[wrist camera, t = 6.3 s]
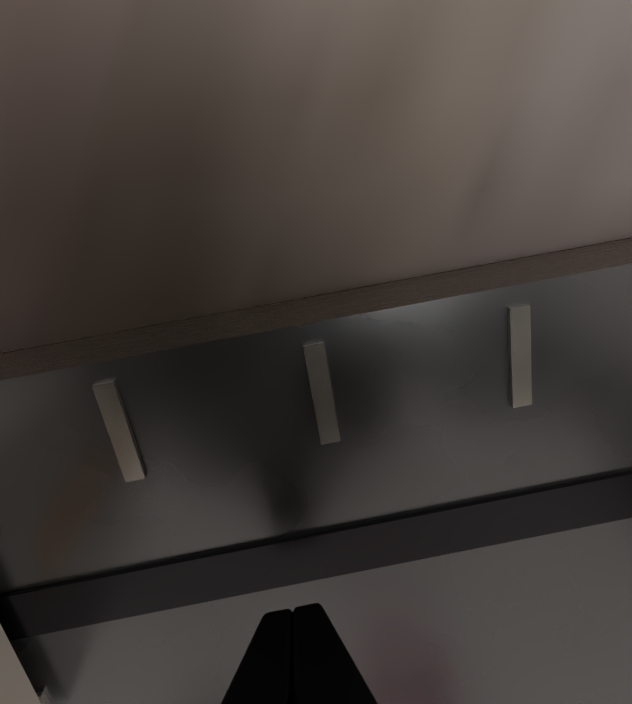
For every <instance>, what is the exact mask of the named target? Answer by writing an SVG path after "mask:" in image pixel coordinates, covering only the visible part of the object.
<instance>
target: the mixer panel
mask: <svg viewBox="0 0 632 704" xmlns="http://www.w3.org/2000/svg"><path fill="white" fill-rule="evenodd" d="M313 603H319V604H321V605H322V606H323V608H324V610H325V612H326V613H327V615H328V617H329V619H330V620H331V622H332V624H333V626H334V627H335V629H336V631H337V633H338V634H339V636H340V638H341V640H342V641H343V643H344V645H345V647H346V648H347V650H348V652H349V654H350V655H351V657H352V659H353V661H354V662H355V664H356V666H357V668H358V669H359V671H360V673H361V675H362V676H363V678H364V680H365V682H366V683H367V685H368V687H369V689H370V690H371V692H372V694H373V696H374V697H375V699H376V701H377V703H378V704H632V238H629V239H624V240H618V241H613V242H607V243H602V244H596V245H591V246H585V247H580V248H575V249H569V250H564V251H558V252H553V253H547V254H542V255H536V256H531V257H525V258H520V259H515V260H509V261H504V262H498V263H493V264H487V265H482V266H476V267H471V268H466V269H460V270H455V271H449V272H444V273H438V274H433V275H427V276H422V277H417V278H411V279H406V280H400V281H395V282H389V283H384V284H378V285H373V286H367V287H362V288H357V289H351V290H346V291H340V292H335V293H329V294H324V295H318V296H313V297H308V298H302V299H297V300H291V301H286V302H280V303H275V304H269V305H264V306H258V307H253V308H248V309H242V310H237V311H231V312H226V313H220V314H215V315H209V316H204V317H199V318H193V319H188V320H182V321H177V322H171V323H166V324H160V325H155V326H149V327H144V328H139V329H133V330H128V331H122V332H117V333H111V334H106V335H100V336H95V337H90V338H84V339H79V340H73V341H68V342H62V343H57V344H51V345H46V346H40V347H35V348H30V349H24V350H19V351H13V352H8V353H2V354H0V624H1V626H2V628H3V630H4V632H5V634H6V636H7V638H8V640H9V642H10V644H11V646H12V648H13V650H14V651H15V653H16V655H17V657H18V659H19V661H20V663H21V665H22V667H23V669H24V671H25V673H26V675H27V677H28V679H29V681H30V683H31V685H32V687H33V689H34V691H35V692H36V694H37V696H38V698H39V700H40V702H41V704H221V702H222V700H223V698H224V696H225V694H226V692H227V690H228V688H229V685H230V683H231V681H232V679H233V677H234V675H235V673H236V671H237V669H238V667H239V664H240V662H241V660H242V658H243V656H244V654H245V652H246V650H247V648H248V646H249V644H250V641H251V639H252V637H253V635H254V633H255V631H256V629H257V627H258V625H259V623H260V620H261V618H262V617H263V615H264V614H266V613H268V612H272V611H277V610H282V609H290V610H292V612H293V610H294V609H295V607H298V606H303V605H308V604H313Z"/></svg>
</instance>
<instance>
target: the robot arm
mask: <svg viewBox="0 0 632 704" xmlns="http://www.w3.org/2000/svg"><path fill="white" fill-rule="evenodd" d="M221 704H378V703H377V701H376V699H375V697H374V696H373V694H372V692H371V690H370V689H369V687H368V685H367V683H366V682H365V680H364V678H363V676H362V675H361V673H360V671H359V669H358V668H357V666H356V664H355V662H354V661H353V659H352V657H351V655H350V654H349V652H348V650H347V648H346V647H345V645H344V643H343V641H342V640H341V638H340V636H339V634H338V633H337V631H336V629H335V627H334V626H333V624H332V622H331V620H330V619H329V617H328V615H327V613H326V612H325V610H324V608H323V606H322V605H321V604H319V603H313V604H308V605H303V606H298V607H295V609H294V610H293V612H292V610H290V609H282V610H277V611H272V612H268V613H266V614H264V615H263V617H262V618H261V620H260V623H259V625H258V627H257V629H256V631H255V633H254V635H253V637H252V639H251V641H250V644H249V646H248V648H247V650H246V652H245V654H244V656H243V658H242V660H241V662H240V664H239V667H238V669H237V671H236V673H235V675H234V677H233V679H232V681H231V683H230V685H229V688H228V690H227V692H226V694H225V696H224V698H223V700H222V702H221Z"/></svg>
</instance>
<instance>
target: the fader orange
mask: <svg viewBox="0 0 632 704" xmlns="http://www.w3.org/2000/svg"><path fill="white" fill-rule="evenodd" d="M0 704H41V702H40V700H39V698H38V696H37V694H36V692H35V691H34V689H33V687H32V685H31V683H30V681H29V679H28V677H27V675H26V673H25V671H24V669H23V667H22V665H21V663H20V661H19V659H18V657H17V655H16V653H15V651H14V650H13V648H12V646H11V644H10V642H9V640H8V638H7V636H6V634H5V632H4V630H3V628H2V626H1V624H0Z"/></svg>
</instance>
